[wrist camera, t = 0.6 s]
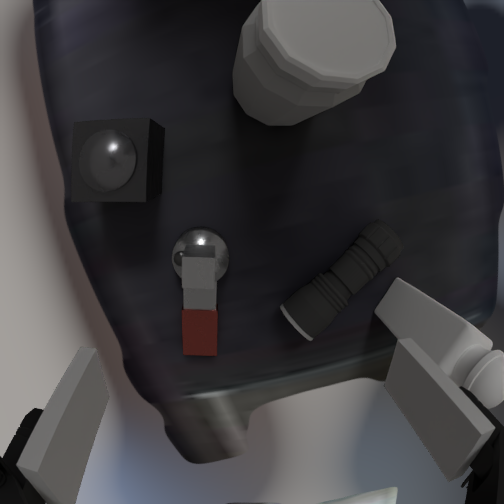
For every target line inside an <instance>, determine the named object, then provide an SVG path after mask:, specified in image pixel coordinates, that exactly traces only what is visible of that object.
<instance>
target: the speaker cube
mask: <svg viewBox="0 0 504 504" xmlns="http://www.w3.org/2000/svg"><path fill="white" fill-rule="evenodd" d="M164 133H165V128H164V127H162V126H161V125H159V124H158V123H156V122H155V121H153V120H152V119H150V118H133V119H111V120H96V121H83V122H74V129H73V144H72V170H71V202H147V201H149V200H150V199H152V198H154V197H156V196H158V195H159V194H161V193H162V168H163V149H164Z"/></svg>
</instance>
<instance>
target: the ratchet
mask: <svg viewBox="0 0 504 504" xmlns="http://www.w3.org/2000/svg"><path fill="white" fill-rule="evenodd" d="M172 263H173V266H174V269H175V271H176V273H177V274H178V275H179V276H180V277H181V278H182V288H183V293H184V303H183V307H182V335H183V355H202V356H217V322H218V304H216V291H217V280H219V279H220V278H221V277H222V276H223V275H224V273H225V272H226V270H227V267H228V264H229V253H228V247H227V244H226V242H225V240H224V238H223V237H222V236H221V235H220V234H219V233H218V232H216V231H215V230H213V229H211V228H207V227H195V228H191V229H189V230H187V231H186V232H184V233H183V234H182V235H181V236H180V237H179V239H178V240H177V242H176V244H175V246H174V249H173V253H172Z"/></svg>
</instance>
